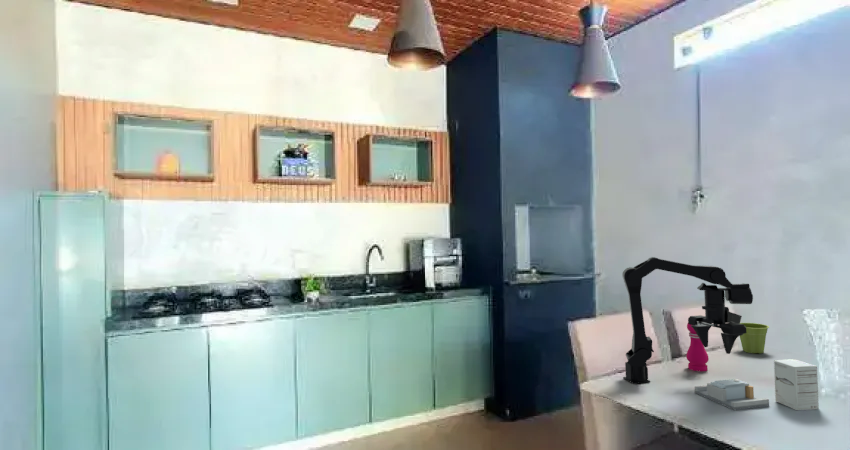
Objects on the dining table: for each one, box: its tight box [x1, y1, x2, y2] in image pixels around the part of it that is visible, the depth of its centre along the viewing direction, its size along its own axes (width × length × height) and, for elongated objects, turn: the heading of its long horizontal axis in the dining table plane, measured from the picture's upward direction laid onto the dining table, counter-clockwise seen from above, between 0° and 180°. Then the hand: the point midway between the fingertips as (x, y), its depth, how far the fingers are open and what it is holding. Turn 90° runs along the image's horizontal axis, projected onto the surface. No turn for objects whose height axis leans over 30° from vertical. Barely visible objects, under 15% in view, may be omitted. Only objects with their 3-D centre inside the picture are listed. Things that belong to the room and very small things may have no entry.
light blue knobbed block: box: [710, 378, 750, 400], centre depth 141 cm, size 10×4×5 cm, turn 101°
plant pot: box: [739, 322, 770, 354], centre depth 194 cm, size 12×12×11 cm
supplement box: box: [773, 358, 820, 411], centre depth 135 cm, size 7×7×13 cm
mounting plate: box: [694, 383, 770, 411], centre depth 141 cm, size 12×15×4 cm
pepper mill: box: [685, 323, 710, 372], centre depth 172 cm, size 7×7×20 cm
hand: (716, 350), depth 153 cm, fingers open, 9 cm apart
